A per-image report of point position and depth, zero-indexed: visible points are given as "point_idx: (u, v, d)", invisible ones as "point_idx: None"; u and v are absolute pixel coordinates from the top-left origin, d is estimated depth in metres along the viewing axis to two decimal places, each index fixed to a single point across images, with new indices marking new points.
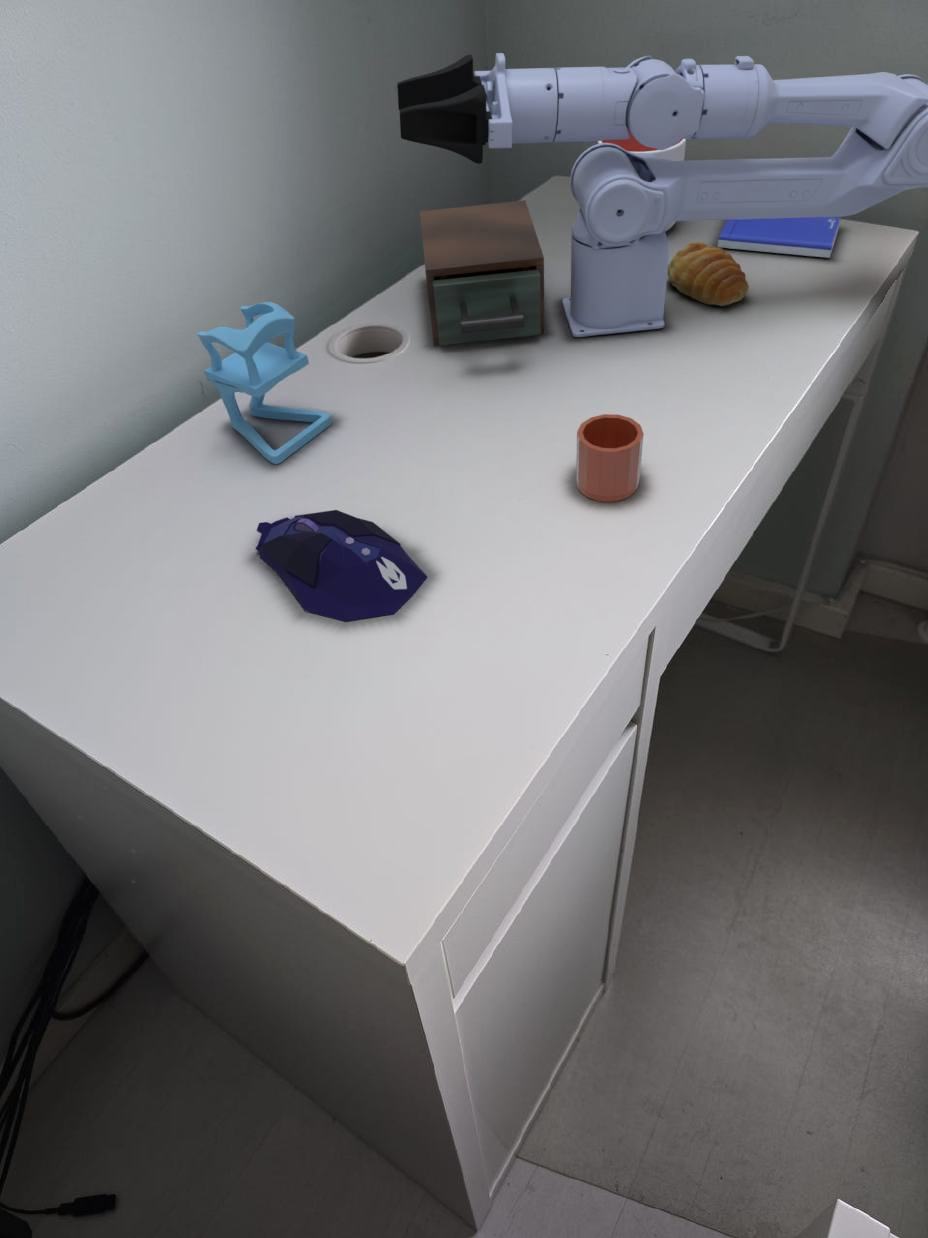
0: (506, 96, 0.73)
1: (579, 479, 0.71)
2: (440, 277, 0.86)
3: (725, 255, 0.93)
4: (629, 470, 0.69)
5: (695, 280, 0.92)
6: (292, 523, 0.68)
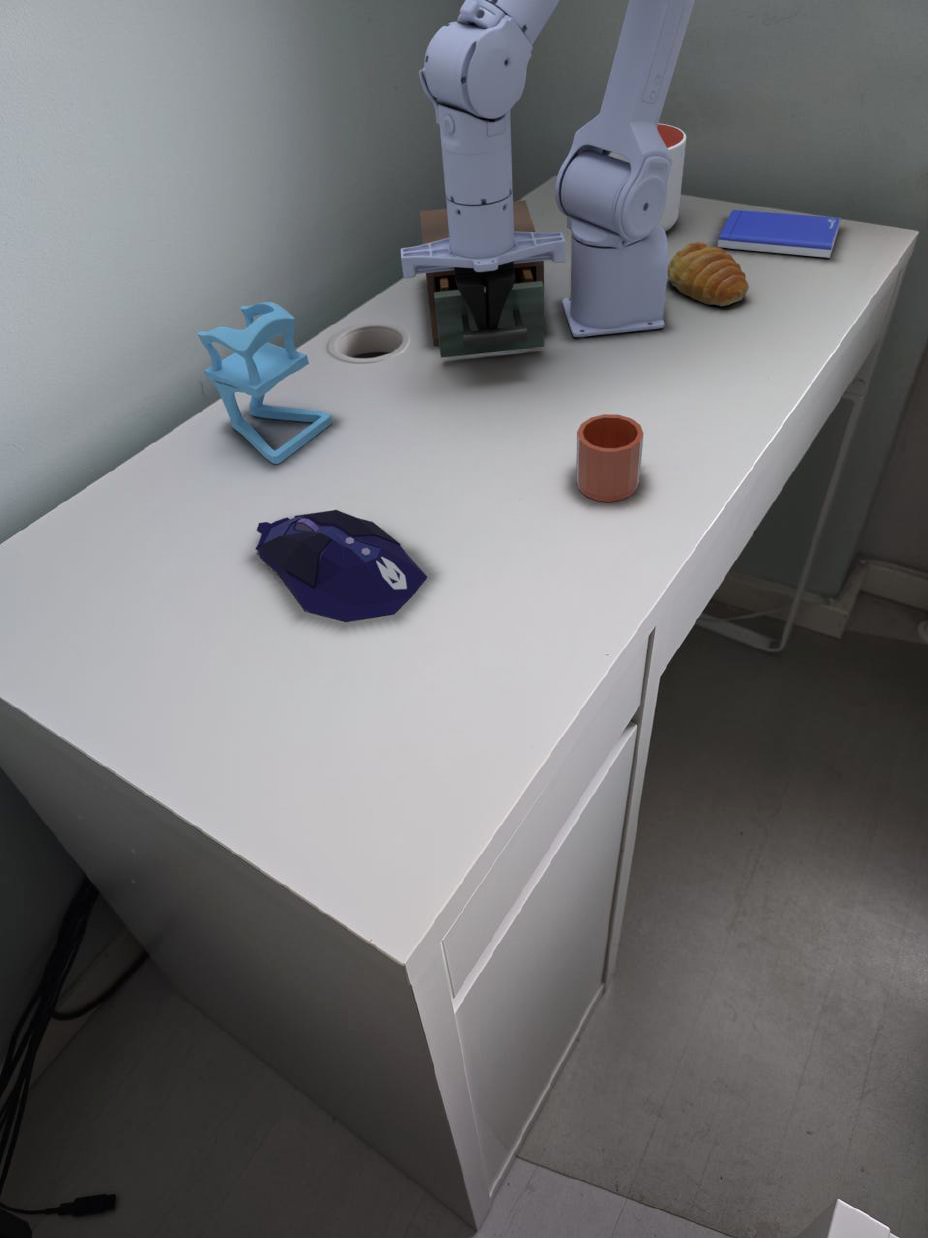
0: (527, 250, 0.76)
1: (579, 479, 0.71)
2: (441, 288, 0.85)
3: (725, 255, 0.93)
4: (629, 470, 0.69)
5: (695, 280, 0.92)
6: (292, 523, 0.68)
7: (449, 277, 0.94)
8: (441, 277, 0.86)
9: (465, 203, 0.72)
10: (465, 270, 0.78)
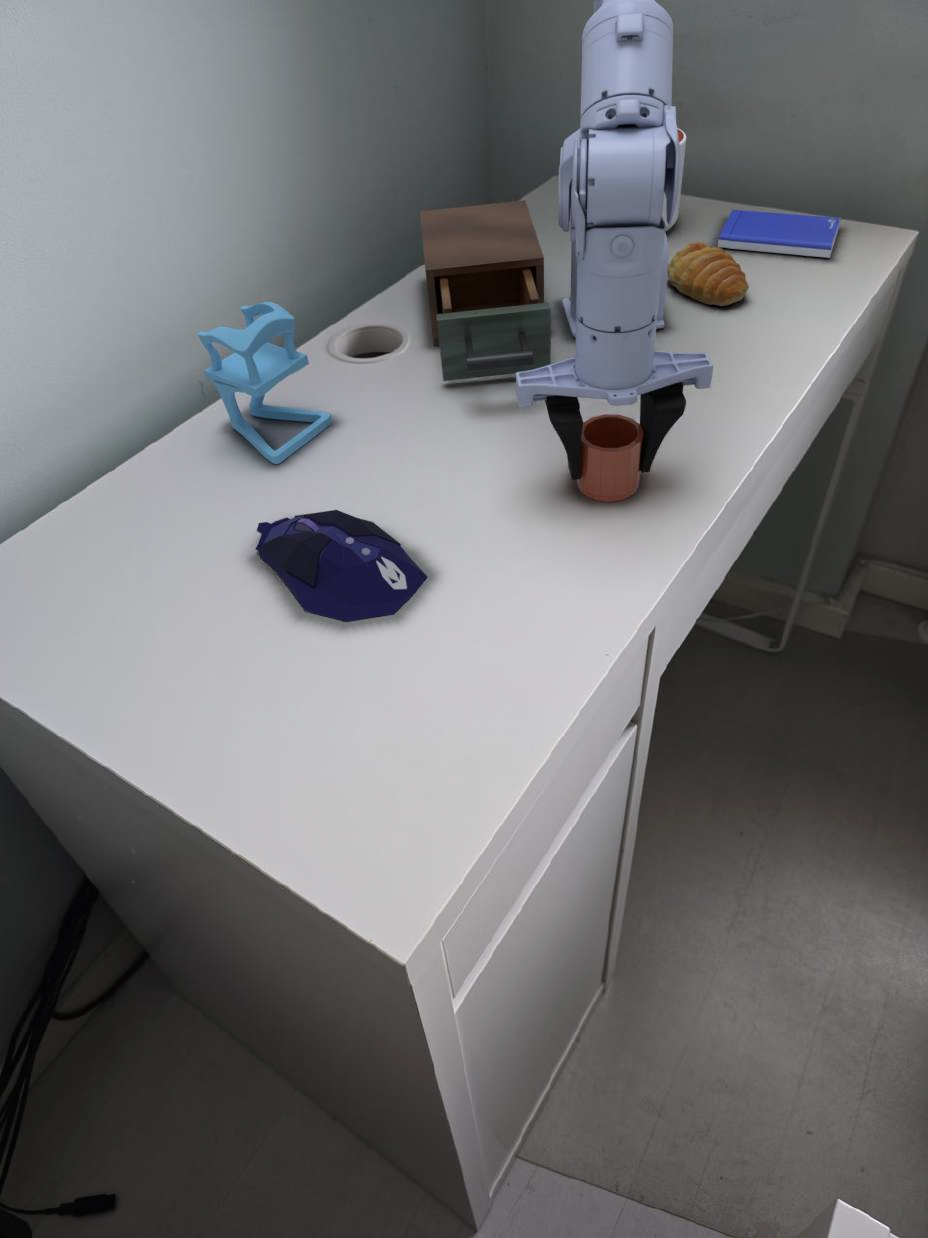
0: (669, 378, 0.64)
1: (579, 479, 0.71)
2: (444, 310, 0.81)
3: (725, 255, 0.93)
4: (629, 470, 0.69)
5: (695, 280, 0.92)
6: (292, 523, 0.68)
7: (452, 296, 0.91)
8: (444, 298, 0.83)
9: (604, 330, 0.60)
10: (560, 401, 0.66)
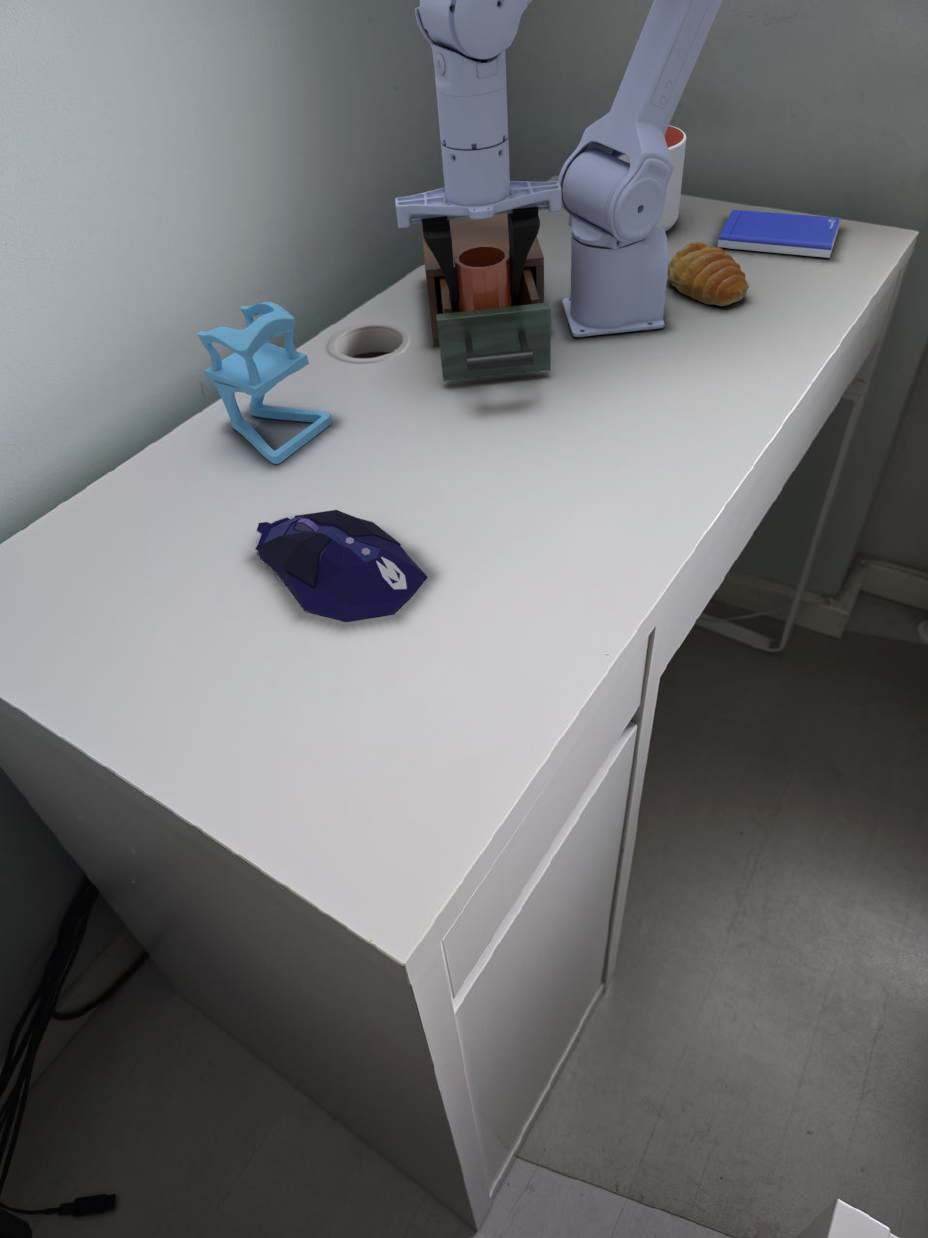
0: (523, 198, 0.75)
1: (458, 302, 0.83)
2: (444, 310, 0.81)
3: (725, 255, 0.93)
4: (498, 289, 0.80)
5: (695, 280, 0.92)
6: (292, 523, 0.68)
7: None
8: (444, 298, 0.83)
9: (460, 148, 0.71)
10: (433, 222, 0.77)
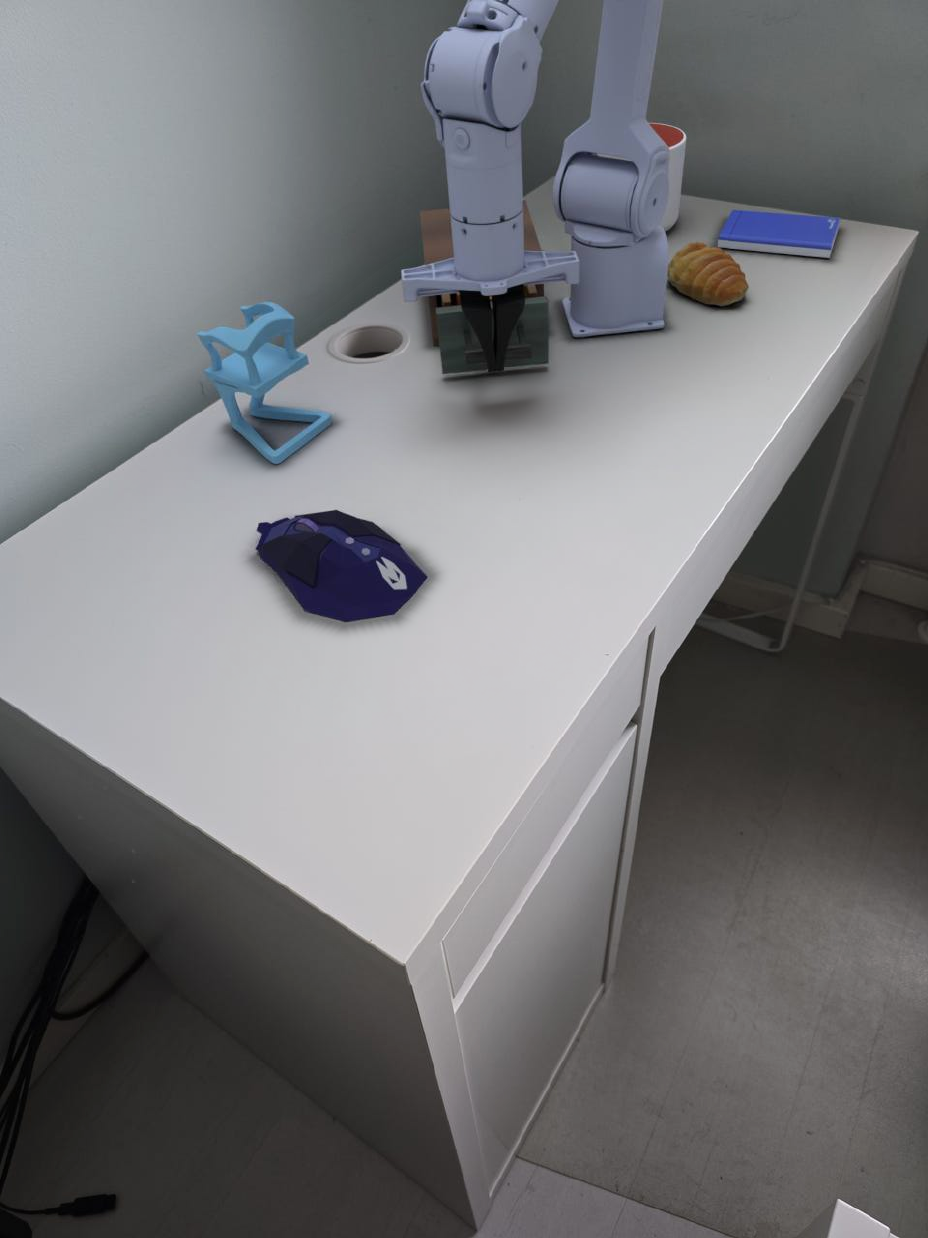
0: (538, 272, 0.70)
1: None
2: (443, 304, 0.82)
3: (725, 255, 0.93)
4: None
5: (695, 280, 0.92)
6: (292, 523, 0.68)
7: None
8: None
9: (471, 222, 0.66)
10: (471, 293, 0.72)
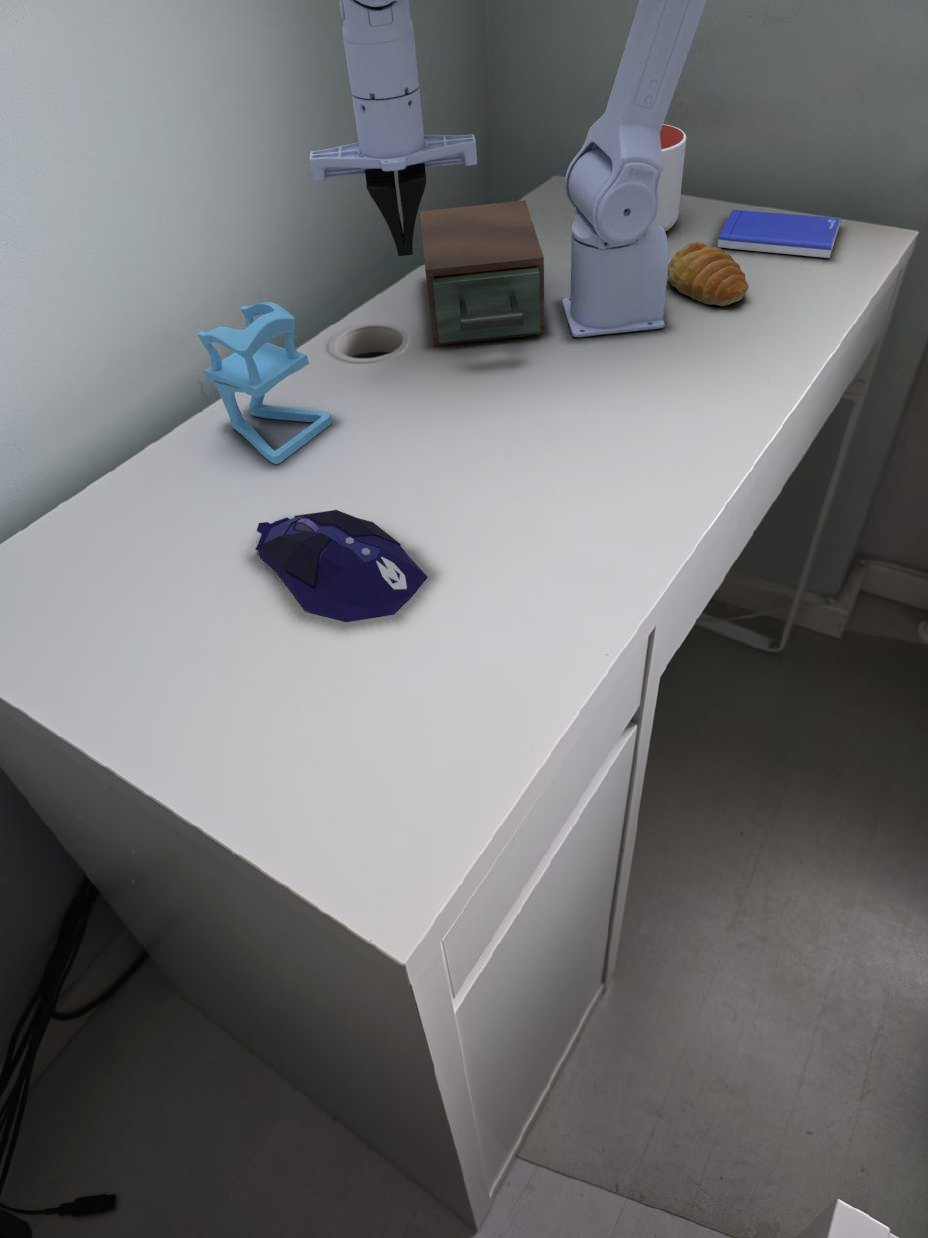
0: (436, 150, 0.75)
1: None
2: None
3: (724, 255, 0.93)
4: None
5: (695, 280, 0.92)
6: (292, 523, 0.68)
7: None
8: None
9: (369, 97, 0.71)
10: (376, 173, 0.77)
